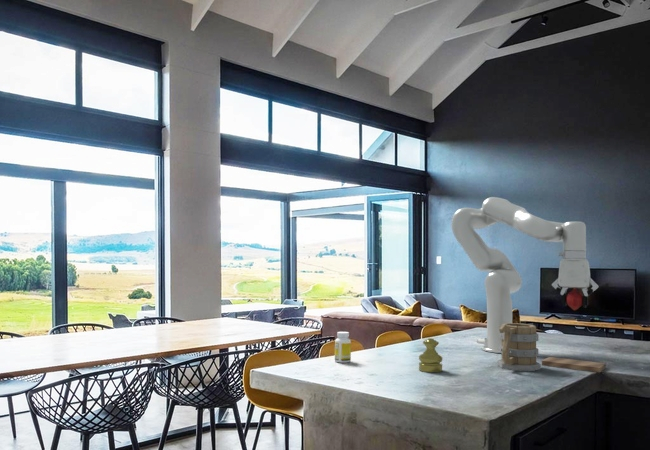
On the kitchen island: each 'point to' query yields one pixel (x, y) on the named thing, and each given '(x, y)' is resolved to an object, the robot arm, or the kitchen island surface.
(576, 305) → the red round fruit
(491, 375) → the kitchen island surface
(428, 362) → the olive chess piece
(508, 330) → the tankard
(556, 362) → the cutting board
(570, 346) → the kitchen island surface
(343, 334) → the supplement bottle
